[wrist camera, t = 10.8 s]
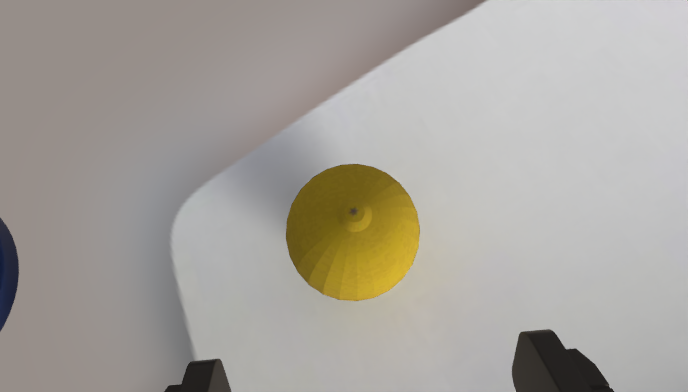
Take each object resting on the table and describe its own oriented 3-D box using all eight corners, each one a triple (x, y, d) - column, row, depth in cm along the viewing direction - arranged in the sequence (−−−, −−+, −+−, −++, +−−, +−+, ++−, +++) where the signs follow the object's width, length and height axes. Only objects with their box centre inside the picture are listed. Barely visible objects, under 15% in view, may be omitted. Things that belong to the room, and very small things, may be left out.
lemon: (379, 180, 22) (398, 112, 14) (421, 278, 21) (467, 260, 13) (282, 217, 22) (248, 166, 14) (319, 319, 20) (303, 326, 13)
